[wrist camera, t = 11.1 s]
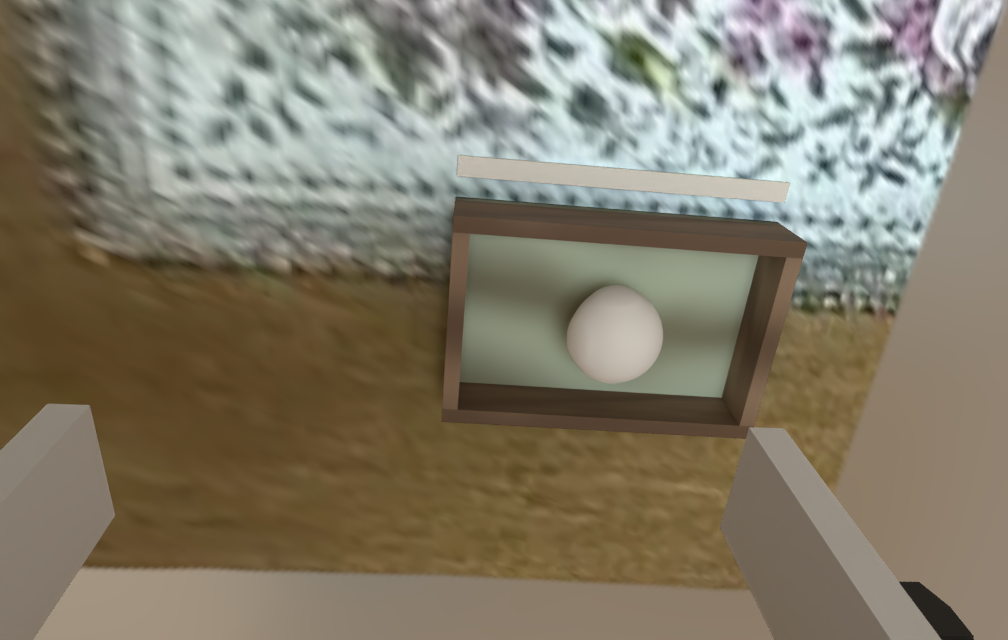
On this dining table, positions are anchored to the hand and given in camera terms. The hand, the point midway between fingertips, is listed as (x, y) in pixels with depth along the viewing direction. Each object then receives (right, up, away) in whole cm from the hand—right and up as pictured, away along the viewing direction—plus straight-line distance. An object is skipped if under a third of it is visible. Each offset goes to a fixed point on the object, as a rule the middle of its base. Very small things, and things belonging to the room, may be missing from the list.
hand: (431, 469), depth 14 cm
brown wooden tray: (+7, +4, +23) cm, 24 cm away
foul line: (+8, +10, +20) cm, 23 cm away
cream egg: (+7, +4, +22) cm, 24 cm away
